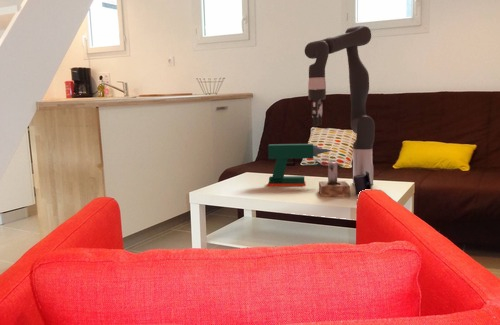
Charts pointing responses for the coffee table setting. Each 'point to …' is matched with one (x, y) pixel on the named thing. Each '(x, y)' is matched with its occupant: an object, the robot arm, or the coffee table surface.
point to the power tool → (290, 152)
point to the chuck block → (334, 189)
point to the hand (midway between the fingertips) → (317, 125)
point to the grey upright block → (332, 173)
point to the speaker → (362, 182)
